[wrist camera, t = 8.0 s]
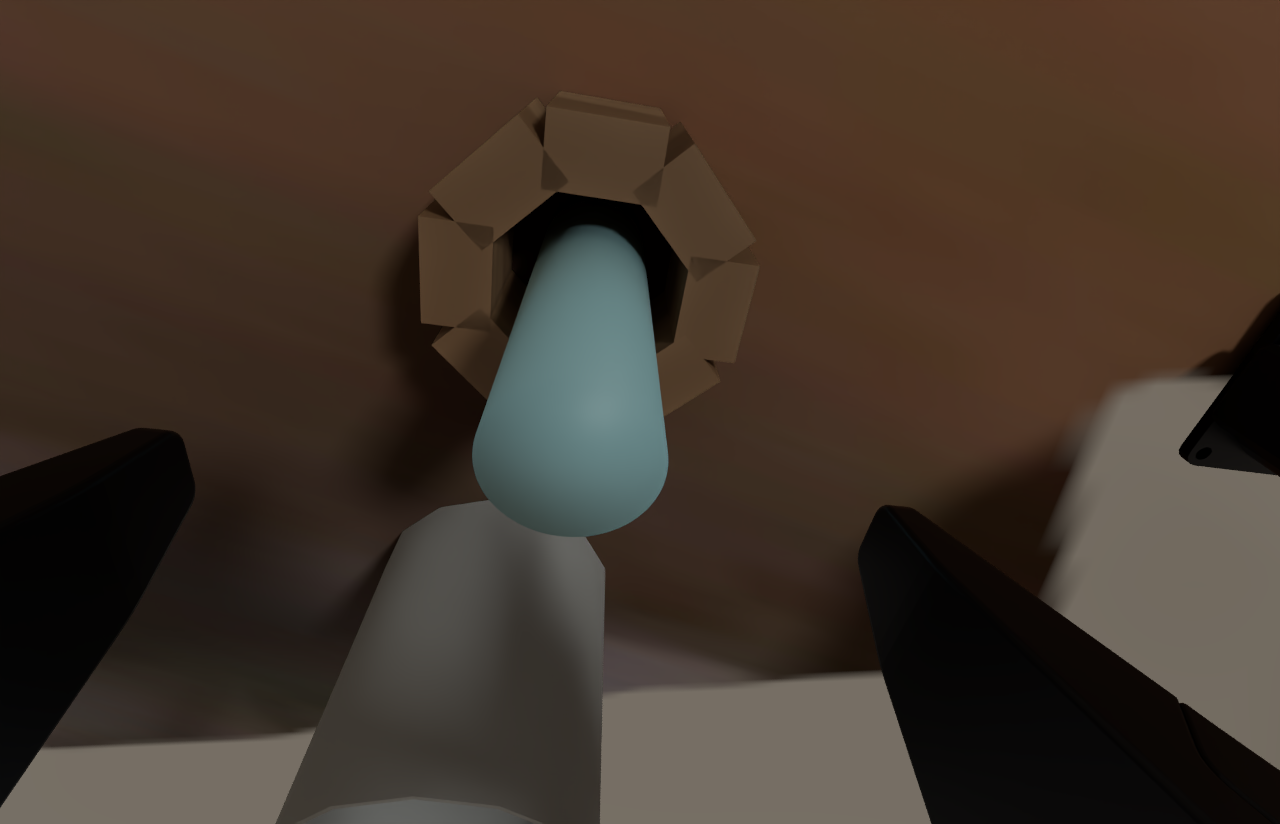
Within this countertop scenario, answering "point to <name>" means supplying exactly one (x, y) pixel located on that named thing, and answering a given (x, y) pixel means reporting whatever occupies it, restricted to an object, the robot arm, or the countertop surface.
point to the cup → (467, 684)
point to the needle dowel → (578, 386)
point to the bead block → (602, 168)
